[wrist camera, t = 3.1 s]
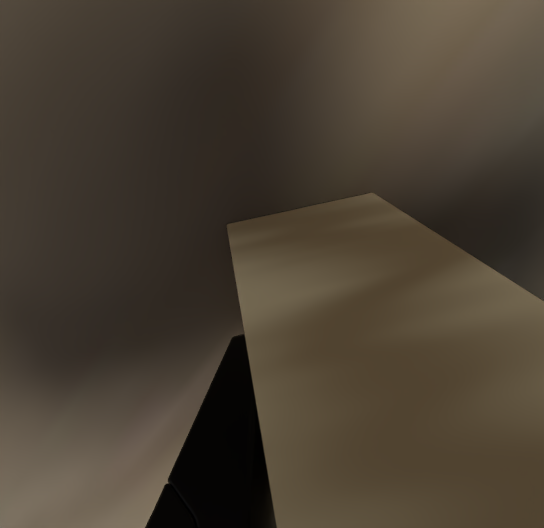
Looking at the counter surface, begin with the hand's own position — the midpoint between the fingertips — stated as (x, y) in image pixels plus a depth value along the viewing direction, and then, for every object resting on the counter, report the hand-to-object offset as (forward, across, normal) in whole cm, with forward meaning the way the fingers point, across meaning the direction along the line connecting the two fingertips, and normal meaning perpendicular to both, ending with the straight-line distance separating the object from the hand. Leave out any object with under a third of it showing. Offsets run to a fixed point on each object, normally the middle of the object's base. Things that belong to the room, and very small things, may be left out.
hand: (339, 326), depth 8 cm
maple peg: (+2, 0, 0) cm, 2 cm away
